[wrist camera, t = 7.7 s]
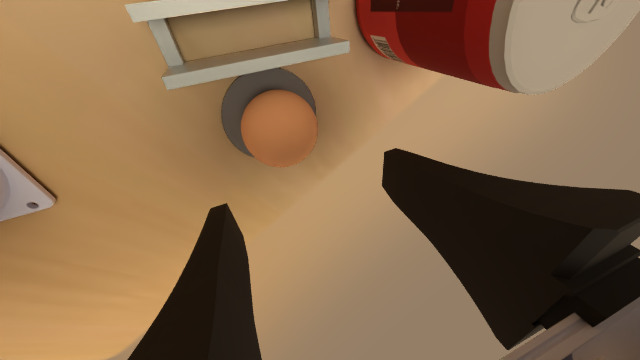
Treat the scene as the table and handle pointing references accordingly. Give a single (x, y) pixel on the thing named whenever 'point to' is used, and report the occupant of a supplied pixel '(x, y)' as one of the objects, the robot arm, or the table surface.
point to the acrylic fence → (214, 68)
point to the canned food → (497, 37)
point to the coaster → (251, 87)
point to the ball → (279, 128)
